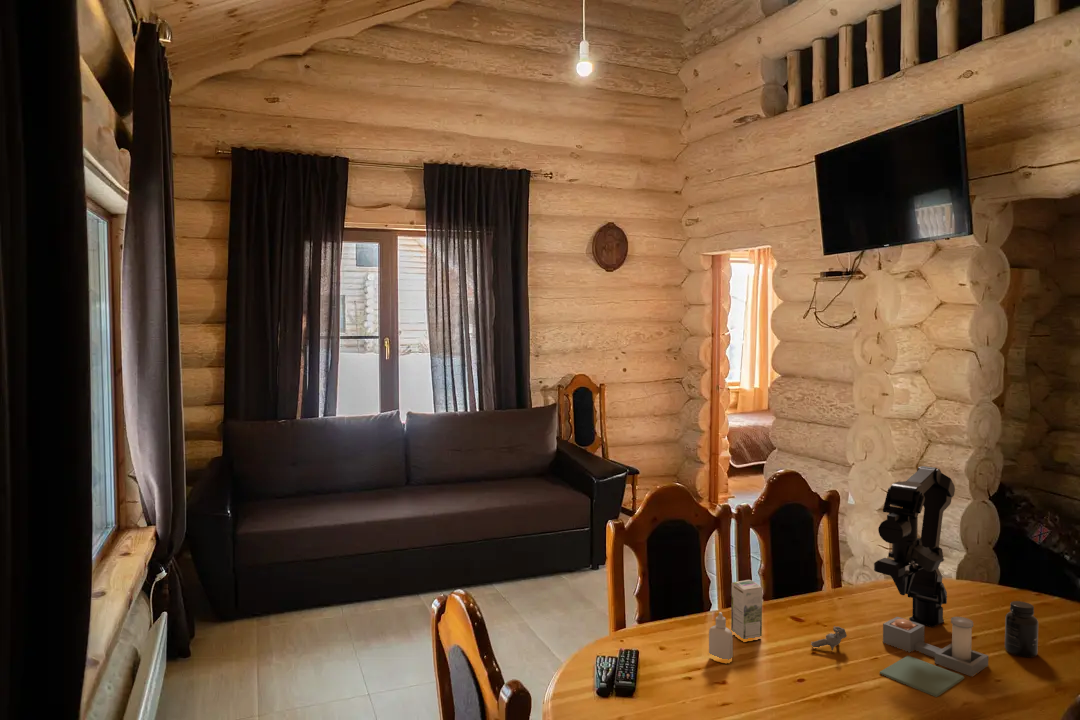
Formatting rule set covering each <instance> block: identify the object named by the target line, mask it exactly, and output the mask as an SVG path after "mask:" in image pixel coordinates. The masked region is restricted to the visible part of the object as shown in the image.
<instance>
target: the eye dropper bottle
mask: <svg viewBox="0 0 1080 720" xmlns="http://www.w3.org/2000/svg"><path fill="white" fill-rule="evenodd" d="M726 619H727V618H726V617H725V616H724V615H723V612H721V611H719V612H718V616H716V617H715V625H712V626H711V627H709V629H708V654H709V653H710V654H712V655H714V656H717V657H719V658H722V659H728V660H729V659H731V658H732V657H733V658H734V655H733V654H734V653H733V648H734V647H733V646H734V645H733V644H734V643H733V641H734V639H733V637H734V636H733V635H732V632H731V629H730V628H728V627H727V624H726V622H727V621H726Z"/></svg>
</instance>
